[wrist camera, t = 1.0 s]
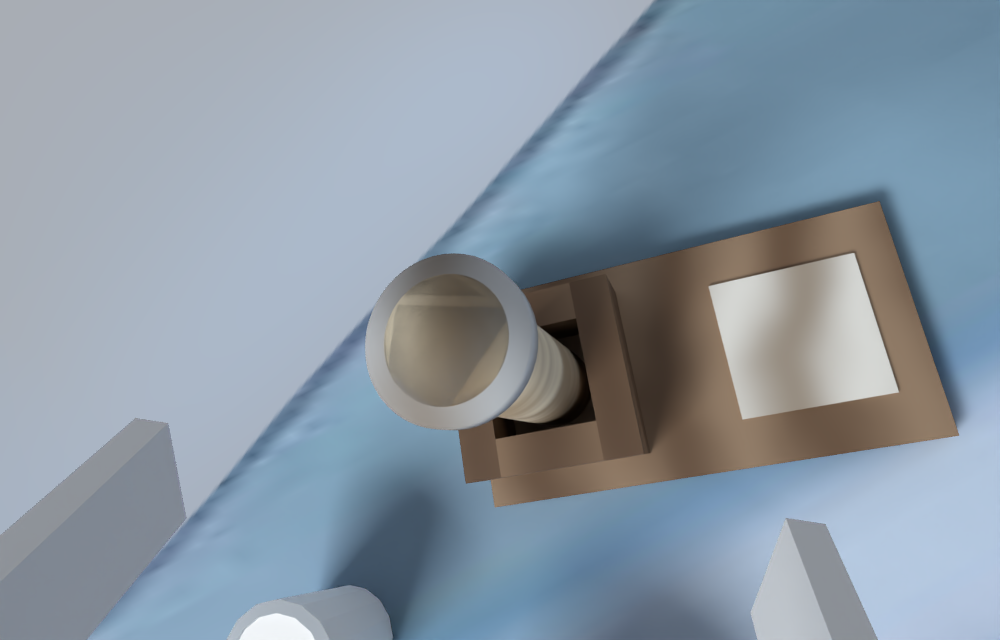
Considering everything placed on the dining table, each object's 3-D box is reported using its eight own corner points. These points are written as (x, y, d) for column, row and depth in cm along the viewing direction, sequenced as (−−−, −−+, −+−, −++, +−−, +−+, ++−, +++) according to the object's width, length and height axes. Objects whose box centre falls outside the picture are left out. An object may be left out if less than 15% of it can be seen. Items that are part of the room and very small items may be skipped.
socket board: (874, 208, 33) (902, 168, 28) (951, 436, 30) (997, 433, 25) (469, 307, 39) (438, 287, 34) (500, 505, 36) (469, 514, 31)
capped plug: (593, 326, 35) (514, 234, 20) (614, 428, 34) (545, 410, 19) (496, 347, 37) (357, 276, 22) (512, 446, 35) (374, 443, 20)
